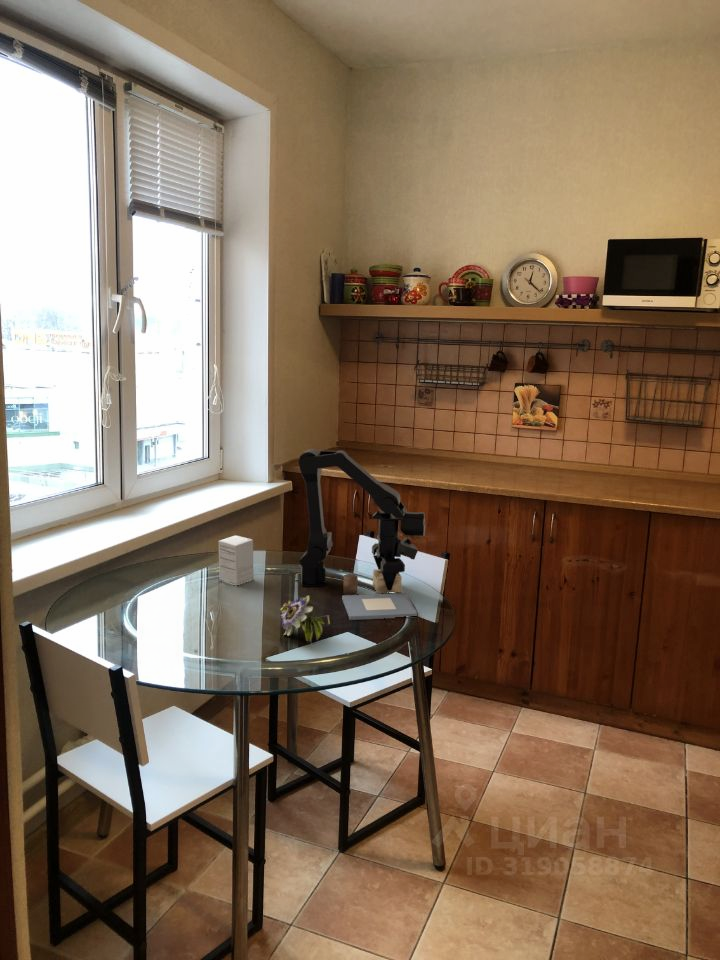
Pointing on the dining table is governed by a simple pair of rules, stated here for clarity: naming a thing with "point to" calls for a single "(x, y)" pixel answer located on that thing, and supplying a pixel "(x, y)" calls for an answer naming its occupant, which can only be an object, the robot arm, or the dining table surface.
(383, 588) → the oak socket block
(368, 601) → the grey rectangular plate
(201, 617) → the dining table surface
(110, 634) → the dining table surface
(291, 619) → the passion flower
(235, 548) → the supplement box
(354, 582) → the walnut peg
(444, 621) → the dining table surface
